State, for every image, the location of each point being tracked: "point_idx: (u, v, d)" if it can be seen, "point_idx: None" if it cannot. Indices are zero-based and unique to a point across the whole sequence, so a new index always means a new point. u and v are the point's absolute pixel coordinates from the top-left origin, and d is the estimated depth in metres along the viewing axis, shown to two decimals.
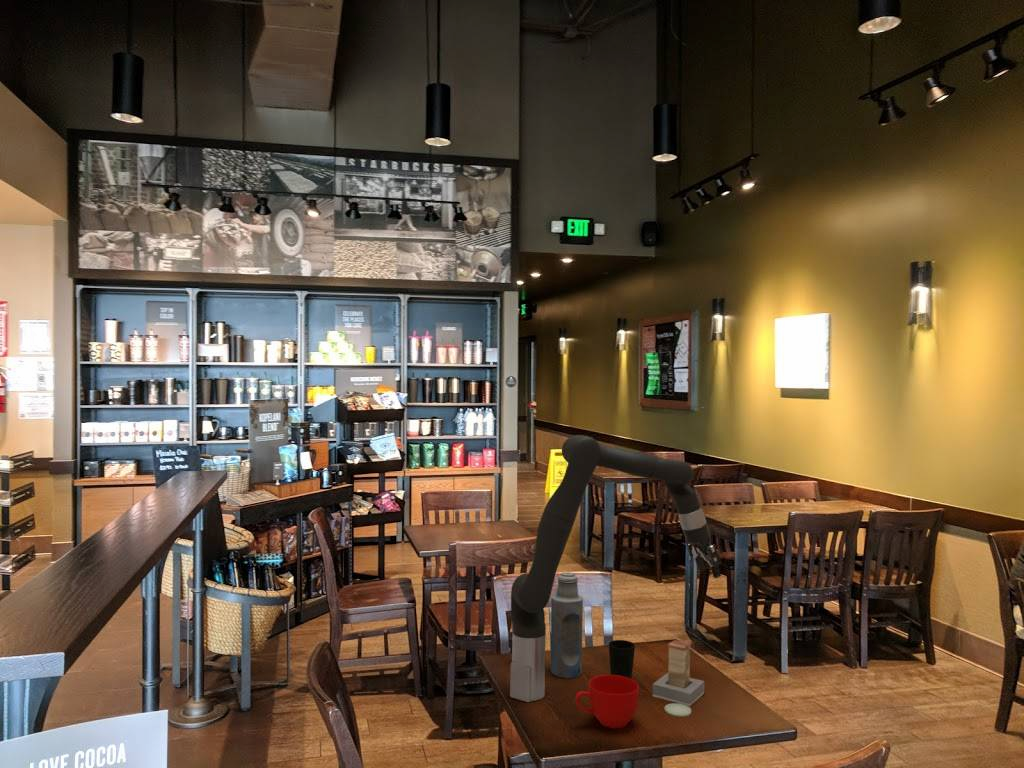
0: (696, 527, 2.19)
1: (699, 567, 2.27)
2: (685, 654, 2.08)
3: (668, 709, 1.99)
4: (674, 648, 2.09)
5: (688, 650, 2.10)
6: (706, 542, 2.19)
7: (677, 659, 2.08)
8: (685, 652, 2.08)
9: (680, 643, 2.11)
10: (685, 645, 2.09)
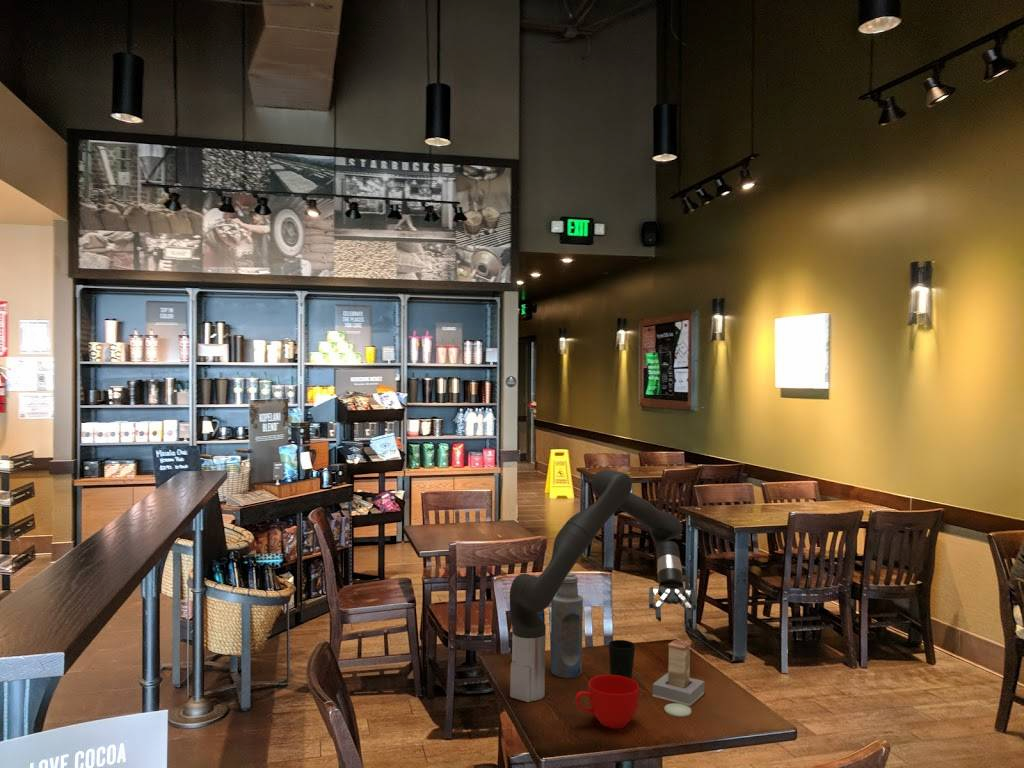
0: (681, 571, 2.32)
1: (660, 614, 2.23)
2: (685, 654, 2.08)
3: (668, 709, 1.99)
4: (674, 648, 2.09)
5: (688, 650, 2.10)
6: None
7: (677, 659, 2.08)
8: (685, 652, 2.08)
9: (680, 643, 2.11)
10: (685, 645, 2.09)
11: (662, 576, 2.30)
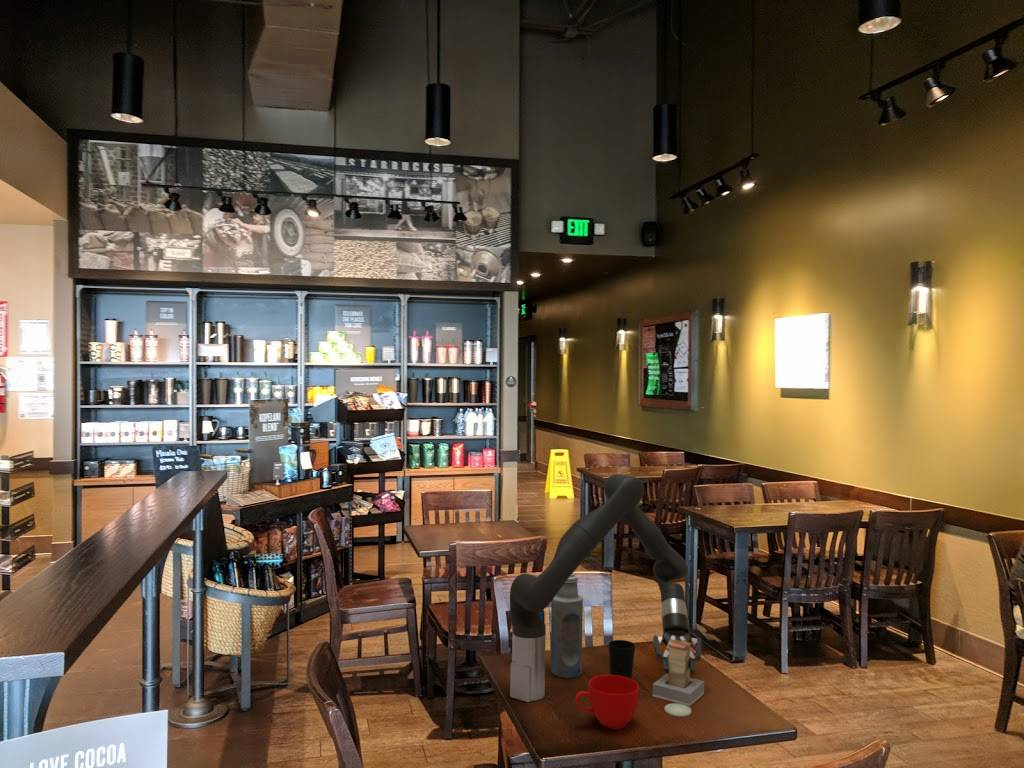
0: (687, 616, 2.19)
1: (668, 666, 2.09)
2: (685, 654, 2.08)
3: (668, 709, 1.99)
4: (674, 648, 2.09)
5: (688, 650, 2.10)
6: None
7: (677, 659, 2.08)
8: (685, 652, 2.08)
9: (680, 643, 2.11)
10: (685, 645, 2.09)
11: (667, 622, 2.17)
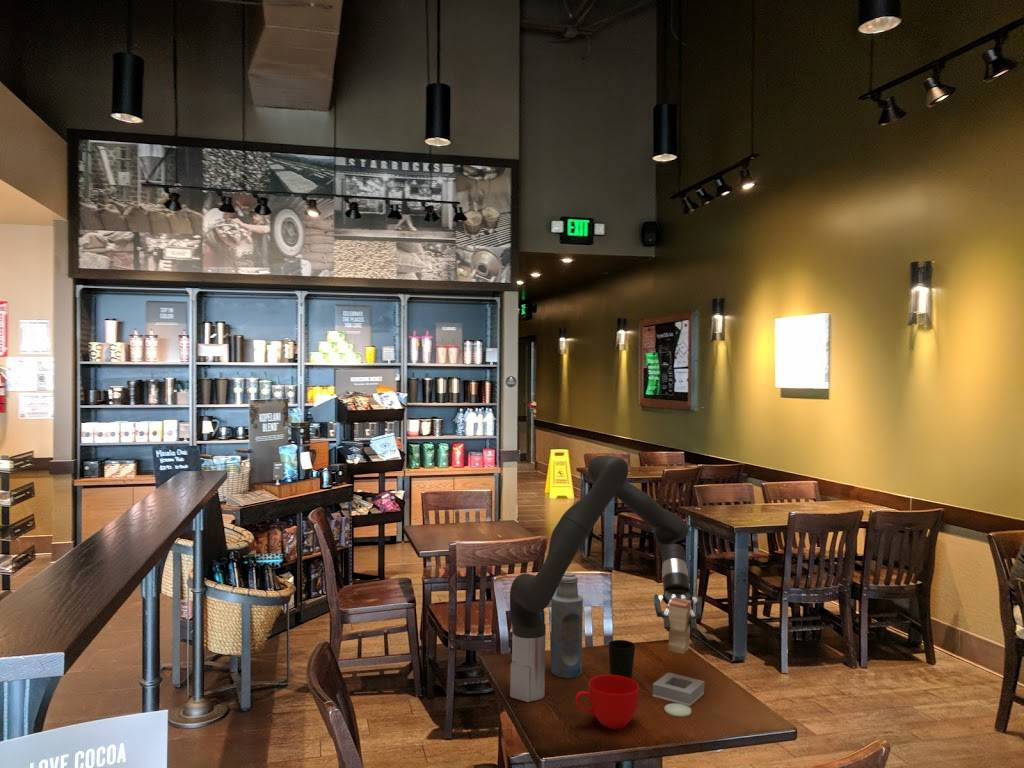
0: None
1: (669, 624, 2.09)
2: (686, 612, 2.08)
3: (668, 709, 1.99)
4: (675, 606, 2.09)
5: (689, 608, 2.10)
6: None
7: (678, 617, 2.08)
8: (686, 610, 2.08)
9: (681, 601, 2.10)
10: (686, 603, 2.09)
11: (667, 581, 2.17)
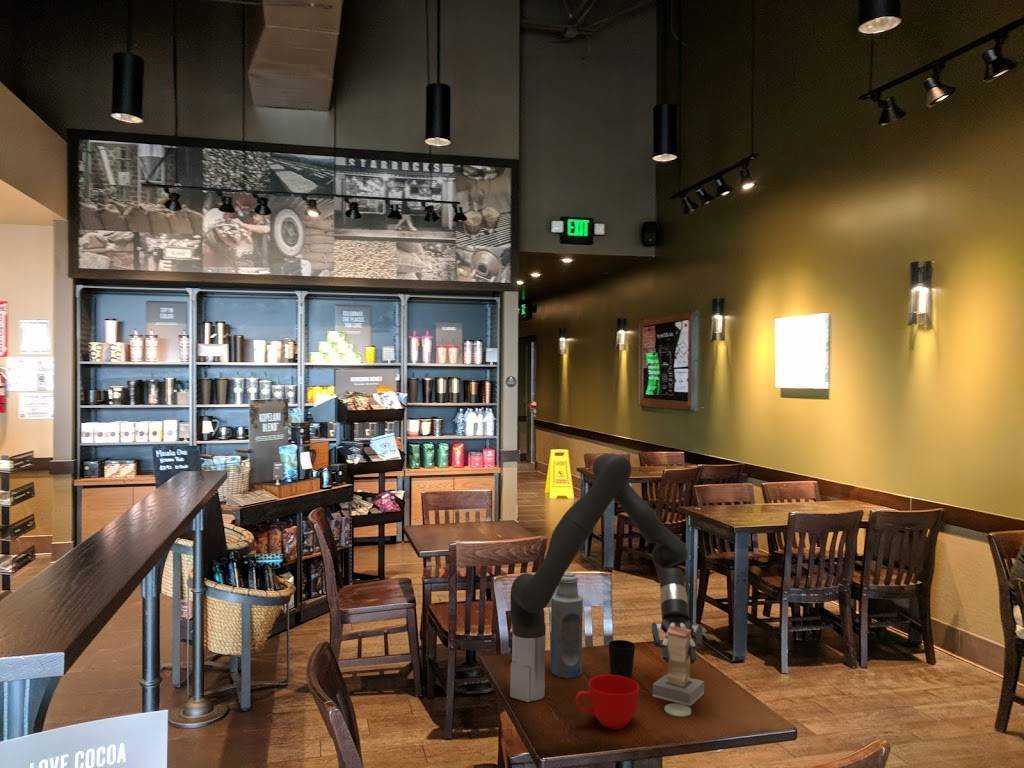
0: (687, 602, 2.09)
1: None
2: (685, 642, 1.97)
3: (668, 709, 1.99)
4: (674, 636, 1.98)
5: (688, 637, 1.99)
6: None
7: (677, 648, 1.97)
8: (685, 640, 1.97)
9: (680, 630, 2.00)
10: (685, 632, 1.98)
11: (666, 608, 2.06)
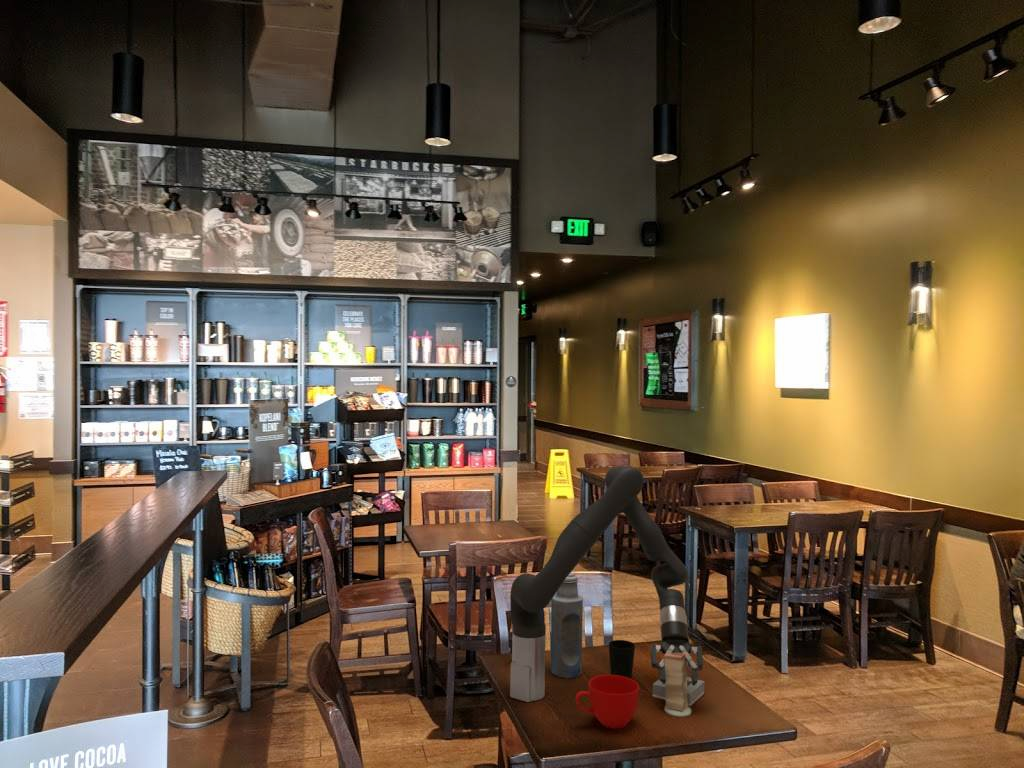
0: None
1: None
2: (682, 664, 1.99)
3: (668, 709, 1.99)
4: (670, 659, 2.00)
5: (684, 660, 2.01)
6: None
7: (673, 670, 1.99)
8: (682, 662, 1.99)
9: (676, 653, 2.02)
10: (681, 655, 2.00)
11: (665, 630, 2.06)
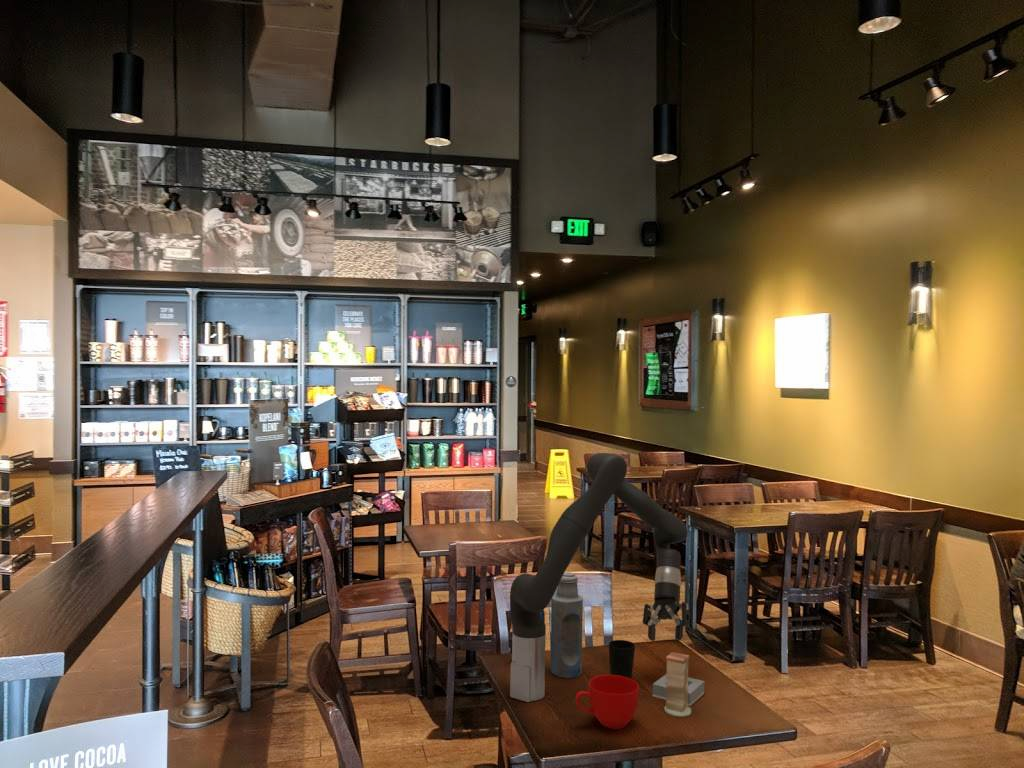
0: (676, 582, 2.19)
1: (651, 634, 2.17)
2: (684, 667, 1.98)
3: (668, 709, 1.99)
4: (672, 661, 1.99)
5: (687, 663, 2.00)
6: (678, 602, 2.17)
7: (675, 673, 1.98)
8: (684, 665, 1.98)
9: (678, 656, 2.01)
10: (684, 658, 1.99)
11: (654, 591, 2.21)
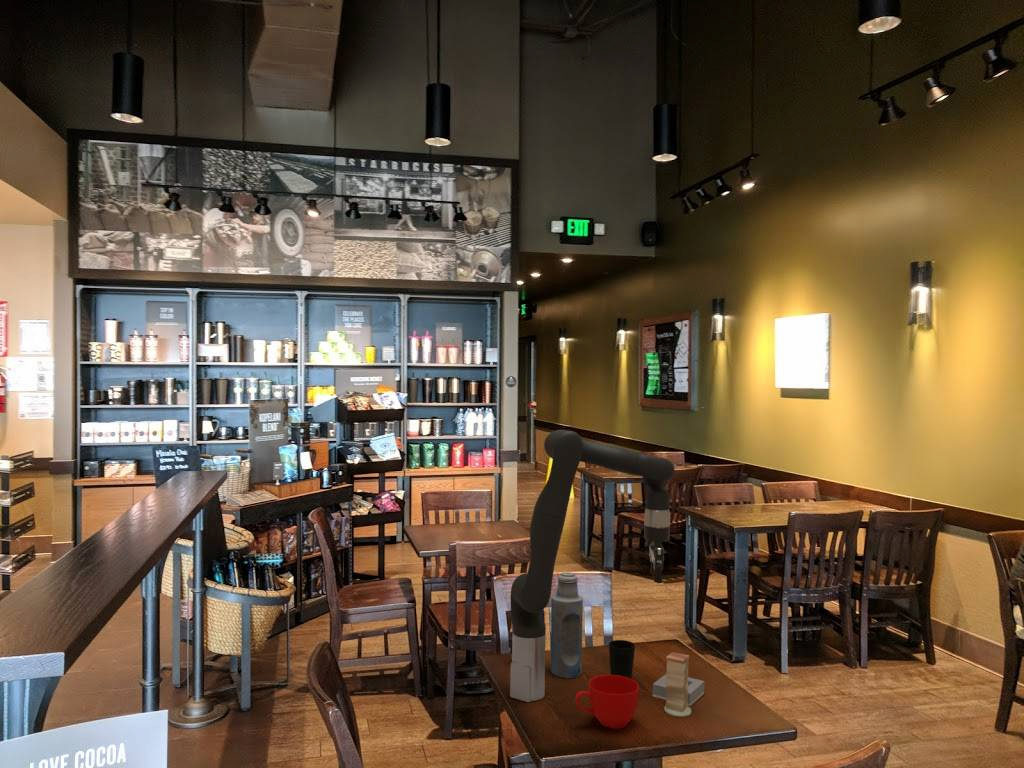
0: (654, 526, 2.18)
1: (652, 570, 2.25)
2: (684, 667, 1.98)
3: (668, 709, 1.99)
4: (672, 661, 1.99)
5: (687, 663, 2.00)
6: (659, 544, 2.18)
7: (675, 673, 1.98)
8: (684, 665, 1.98)
9: (678, 656, 2.01)
10: (684, 658, 1.99)
11: None
